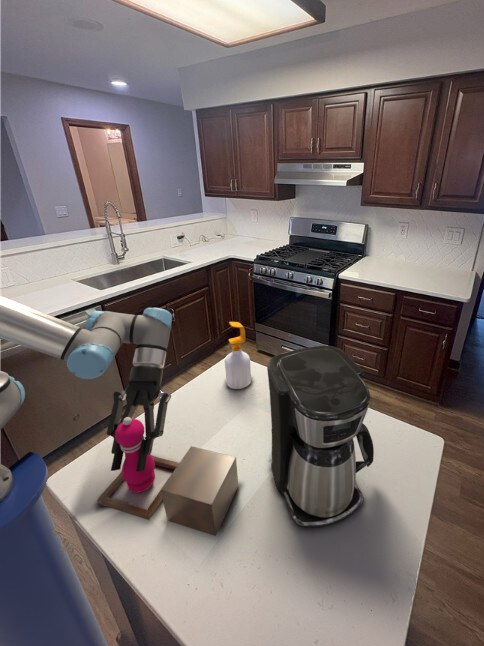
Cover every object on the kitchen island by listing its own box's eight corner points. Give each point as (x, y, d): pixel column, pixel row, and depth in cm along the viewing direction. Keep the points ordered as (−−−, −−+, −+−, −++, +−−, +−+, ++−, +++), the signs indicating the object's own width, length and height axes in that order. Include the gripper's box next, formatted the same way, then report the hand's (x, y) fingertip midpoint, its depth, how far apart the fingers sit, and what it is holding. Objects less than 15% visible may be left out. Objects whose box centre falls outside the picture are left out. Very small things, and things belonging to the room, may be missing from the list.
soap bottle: (223, 378, 118) (218, 320, 109) (246, 372, 122) (242, 315, 113) (231, 392, 111) (226, 331, 101) (254, 385, 115) (252, 325, 105)
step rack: (98, 504, 73) (87, 473, 69) (139, 456, 86) (132, 428, 82) (213, 541, 66) (209, 509, 62) (240, 482, 78) (237, 453, 75)
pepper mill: (154, 491, 75) (140, 427, 67) (122, 497, 73) (103, 432, 66) (159, 466, 81) (147, 405, 74) (129, 471, 80) (113, 409, 72)
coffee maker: (321, 553, 64) (330, 427, 51) (232, 457, 86) (222, 351, 72) (380, 484, 78) (400, 371, 65) (291, 416, 100) (292, 322, 87)
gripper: (187, 371, 83) (173, 469, 74) (120, 369, 83) (98, 467, 74) (178, 365, 76) (160, 473, 67) (105, 363, 76) (78, 471, 67)
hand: (127, 470), depth 71 cm, fingers closed on pepper mill, 5 cm apart
